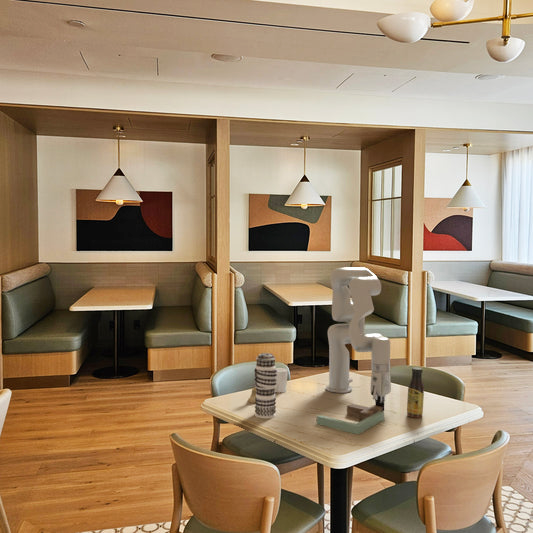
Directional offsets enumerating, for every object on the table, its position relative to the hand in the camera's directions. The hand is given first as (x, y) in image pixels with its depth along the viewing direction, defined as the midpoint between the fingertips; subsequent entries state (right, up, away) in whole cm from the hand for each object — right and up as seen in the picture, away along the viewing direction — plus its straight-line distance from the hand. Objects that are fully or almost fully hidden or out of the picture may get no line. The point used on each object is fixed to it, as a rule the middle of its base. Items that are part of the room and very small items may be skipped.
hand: (379, 411), depth 217 cm
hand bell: (-51, 0, +17) cm, 54 cm away
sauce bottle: (+14, -2, -2) cm, 14 cm away
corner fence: (-14, -2, -10) cm, 17 cm away
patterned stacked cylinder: (-47, -1, -2) cm, 47 cm away
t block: (-8, -1, -4) cm, 9 cm away
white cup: (-41, 0, +33) cm, 53 cm away
